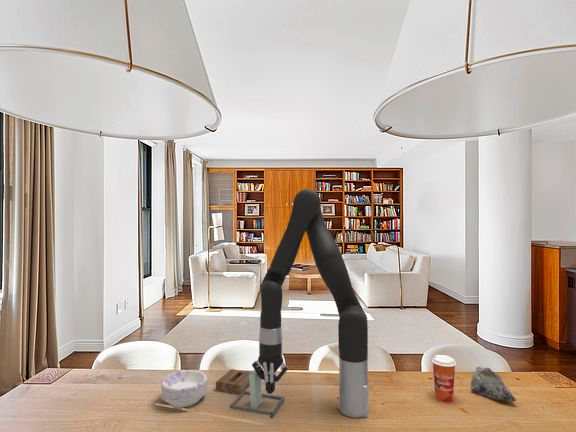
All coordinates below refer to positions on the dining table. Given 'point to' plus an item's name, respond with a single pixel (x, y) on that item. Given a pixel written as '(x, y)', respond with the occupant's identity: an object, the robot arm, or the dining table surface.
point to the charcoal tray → (258, 409)
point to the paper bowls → (184, 388)
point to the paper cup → (444, 377)
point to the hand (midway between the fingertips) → (270, 392)
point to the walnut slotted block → (233, 382)
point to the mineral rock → (490, 385)
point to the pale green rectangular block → (255, 390)
